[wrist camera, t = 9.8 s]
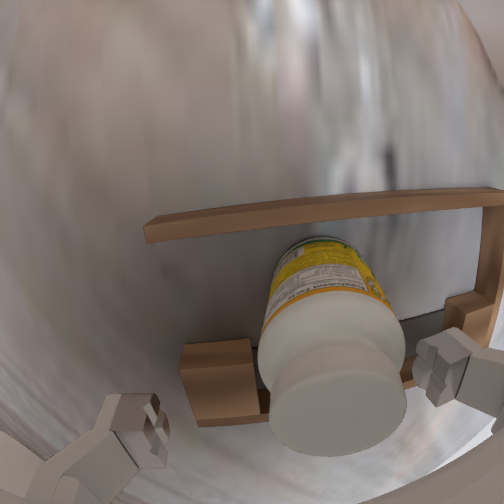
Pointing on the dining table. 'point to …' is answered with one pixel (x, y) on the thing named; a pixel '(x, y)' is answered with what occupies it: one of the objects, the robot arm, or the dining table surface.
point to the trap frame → (318, 210)
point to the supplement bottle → (330, 352)
